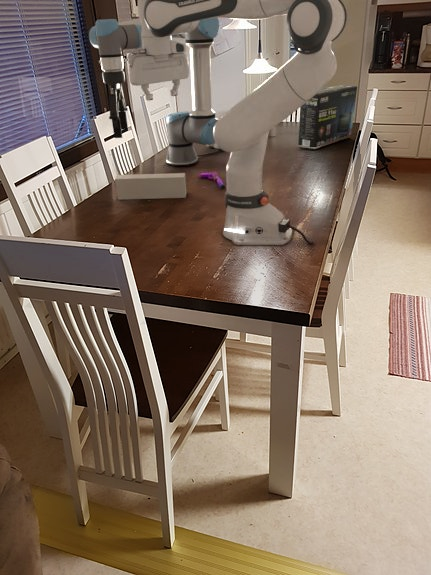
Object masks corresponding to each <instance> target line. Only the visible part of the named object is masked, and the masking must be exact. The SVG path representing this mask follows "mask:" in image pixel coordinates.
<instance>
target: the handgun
mask: <svg viewBox="0 0 431 575" xmlns="http://www.w3.org/2000/svg"><path fill="white" fill-rule="evenodd" d="M199 178H200V179H202V178H208V179H209V180H213V181H214V182H215V183H217V184H218V186H219V188H220V189H221V190H225V189H226V186H225V183H224V182H223V180H222V179H221V178H220V177H219V175H218V172H216V171H211V172H201V173H200V172H199Z"/></svg>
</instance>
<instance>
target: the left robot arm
mask: <svg viewBox="0 0 431 575" xmlns="http://www.w3.org/2000/svg"><path fill="white" fill-rule="evenodd" d="M219 19H220V18H208V19H204V20H200V22H199V25H198V27H197V28H196V29H195V30H194V31H191V32H189V33H185V34H177V35H171V37H172V39H173V38H175V39H185V45H186V47H188V49H189V69H190V89H191V110H186V111H184V110H183V111H178V112H173V113H169V114H168V115H167V116H166V132H167V142H168V149H167V152H165V155H166V158H165V162H166V165H167V166H170V167H176V168H182V167H190V166H193V165H194V166H195V165H196V164H197V163H199V161H198V158H199V157H205V156H210V155H213V154H217V153H219V152H222V151H223V150H222V149H218V150H216V151H213V152H209V153H202V154H197V152H196V150H195V146H194V144H199V145H203V146H207V145H212V144H214V143H215V140H214V137H213V129H214V126H215V124H216V122H217V121H218V120H219V118H217V117H216V111H215V110H214V109H213V106H212V102H213V101H212V100H213V99H212V71H211V70H212V69H211V67H212V66H211V63H212V62H211V47H212V46H213V45H214V42H215V40H214V39H215V38H216V37H217V36H218V34H219V31H220V20H219ZM88 40H89V42H90V44H91V45H92V47H94V48H95V49H98V54H99V59H100V60H99V61H98V63H99V64H100V66H101V70H102V72H101V76H102V80H103V83H104V84H105V85H110V86H109V87H108V88H107V91H108V103H109V104H108V106H109V116H108V120H111V123H112V124H111V125H112V130H113V131H112V132H113V137H114V139H122V138H123V133H122V132H123V131H125V130H126V131H128V130H129V126H128V119H127V112H128V111H129V110H128V107H127V104H126V99H125V96H124V90H123V85H122V84H123V83H125V82H126V77H125V76H126V75H125V71H124V58H123V52H122V51H125V50H139V49H142V41H141V24H140V21H139V18H135V19H130V20H124V21H120V22H119V21H118V20H117V18H108V19H97V20H96V21H95V25H94V26H92V27H91V28H90V30H89V32H88Z"/></svg>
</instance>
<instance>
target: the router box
mask: <svg viewBox="0 0 431 575" xmlns="http://www.w3.org/2000/svg"><path fill="white" fill-rule="evenodd" d="M357 93H358V86H356V85H350V84H339V85H338V84H337V85H334V86H328V87H323V88H322V89H321V90H320V91H319V92H318V93H317V94H316V95H315V96H313V97H312V98H311V99H310V100H309V101H307V102H306V103H305V104H303V105H302V106H301V107H300V109H299V110H300V111H299V124H298V137H297V146H298V145H302V146H307V147H317V146H320V145H323V144H325V143H328V142H331V141H333V140H336V139H338V138H341V137H344V136H347V135H351V136H352V133H353V132H352V131H353V125H354V115H355V109H356V99H357ZM311 151H313V150H312V149H311Z"/></svg>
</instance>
